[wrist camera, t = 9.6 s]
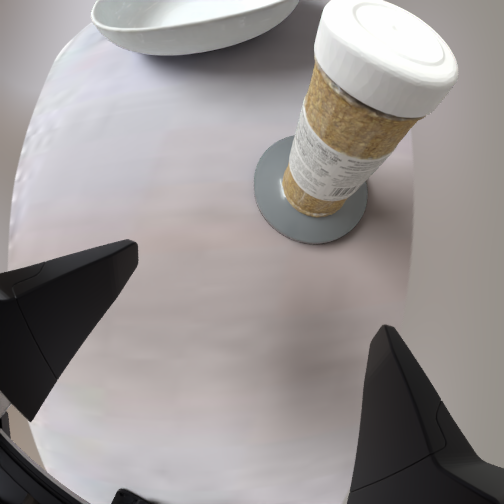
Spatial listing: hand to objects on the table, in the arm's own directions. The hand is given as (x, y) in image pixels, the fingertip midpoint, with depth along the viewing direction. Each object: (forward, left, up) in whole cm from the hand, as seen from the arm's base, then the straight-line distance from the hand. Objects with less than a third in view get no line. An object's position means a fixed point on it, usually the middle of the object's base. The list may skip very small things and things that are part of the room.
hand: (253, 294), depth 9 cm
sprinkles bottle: (+8, 0, -8) cm, 12 cm away
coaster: (+8, 0, -9) cm, 12 cm away
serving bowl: (+22, +18, -9) cm, 30 cm away
